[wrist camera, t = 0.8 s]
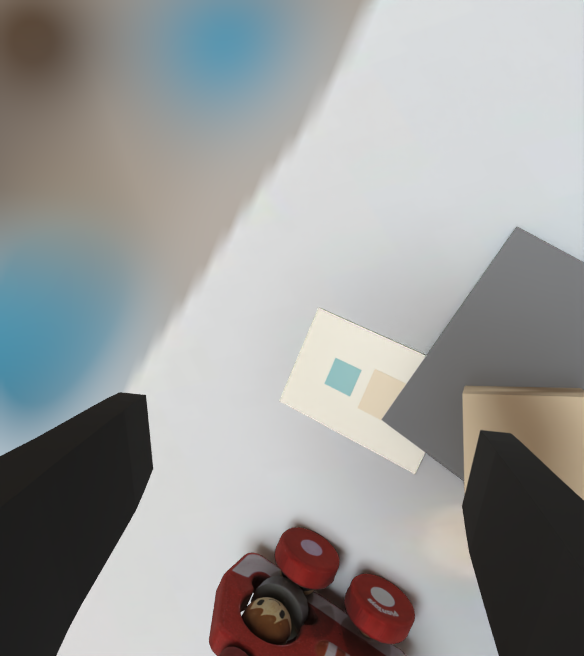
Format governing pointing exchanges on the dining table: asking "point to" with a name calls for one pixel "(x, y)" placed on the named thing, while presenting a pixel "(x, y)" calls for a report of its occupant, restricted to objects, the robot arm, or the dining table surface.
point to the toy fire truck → (305, 606)
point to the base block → (530, 425)
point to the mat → (498, 344)
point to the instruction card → (354, 385)
